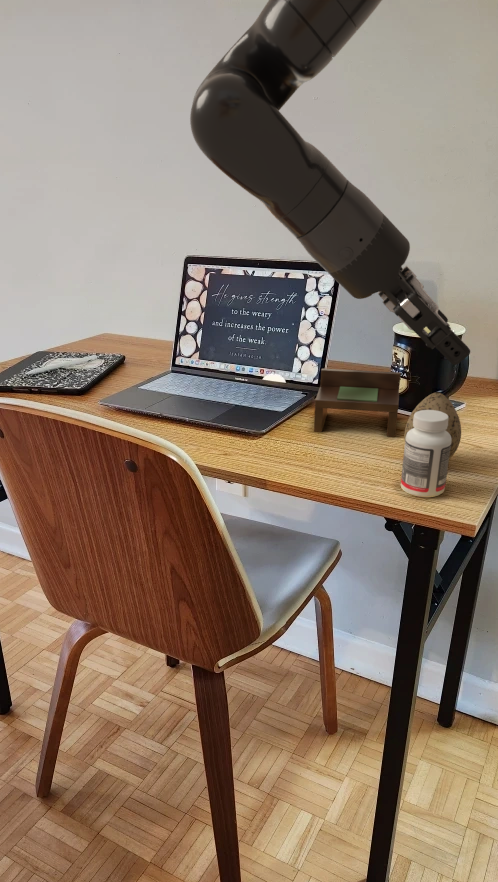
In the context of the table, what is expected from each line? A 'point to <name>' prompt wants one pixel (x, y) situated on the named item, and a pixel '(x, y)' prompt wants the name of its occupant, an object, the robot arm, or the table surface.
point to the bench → (358, 394)
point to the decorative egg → (443, 405)
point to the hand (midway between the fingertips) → (451, 341)
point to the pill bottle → (426, 454)
